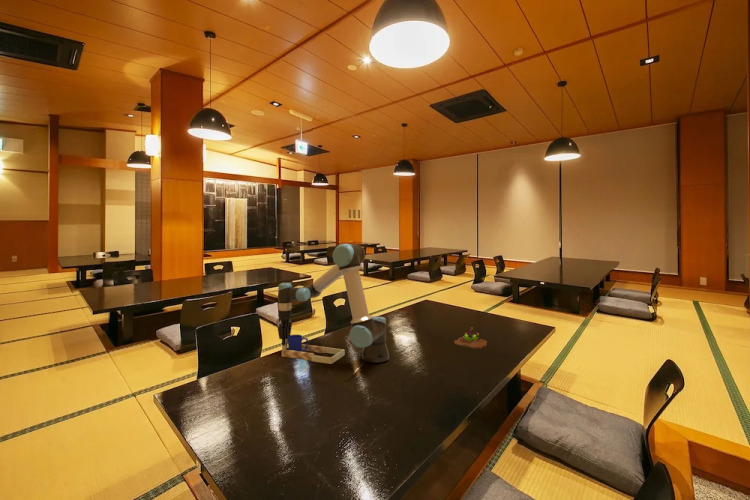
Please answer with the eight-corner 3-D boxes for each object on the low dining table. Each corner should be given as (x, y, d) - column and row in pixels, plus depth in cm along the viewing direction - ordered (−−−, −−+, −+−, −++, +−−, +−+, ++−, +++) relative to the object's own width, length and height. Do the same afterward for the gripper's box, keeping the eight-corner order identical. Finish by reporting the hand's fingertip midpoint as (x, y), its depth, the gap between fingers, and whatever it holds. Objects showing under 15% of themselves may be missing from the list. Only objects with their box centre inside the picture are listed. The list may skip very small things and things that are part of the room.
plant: (490, 344, 208) (490, 326, 208) (482, 351, 191) (482, 333, 192) (460, 339, 219) (460, 322, 219) (450, 346, 203) (450, 328, 203)
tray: (344, 354, 184) (344, 349, 184) (331, 363, 169) (331, 358, 169) (326, 352, 188) (326, 347, 188) (311, 361, 173) (311, 355, 173)
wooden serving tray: (325, 352, 187) (325, 346, 187) (312, 360, 174) (312, 354, 174) (296, 349, 195) (296, 343, 195) (281, 356, 181) (281, 350, 181)
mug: (304, 356, 181) (304, 338, 181) (284, 355, 183) (284, 337, 183) (310, 352, 189) (310, 335, 189) (291, 350, 191) (291, 334, 191)
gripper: (286, 307, 197) (286, 346, 196) (272, 311, 184) (272, 352, 184) (296, 308, 194) (296, 347, 194) (283, 312, 182) (283, 354, 182)
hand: (284, 350), depth 189 cm, fingers closed
